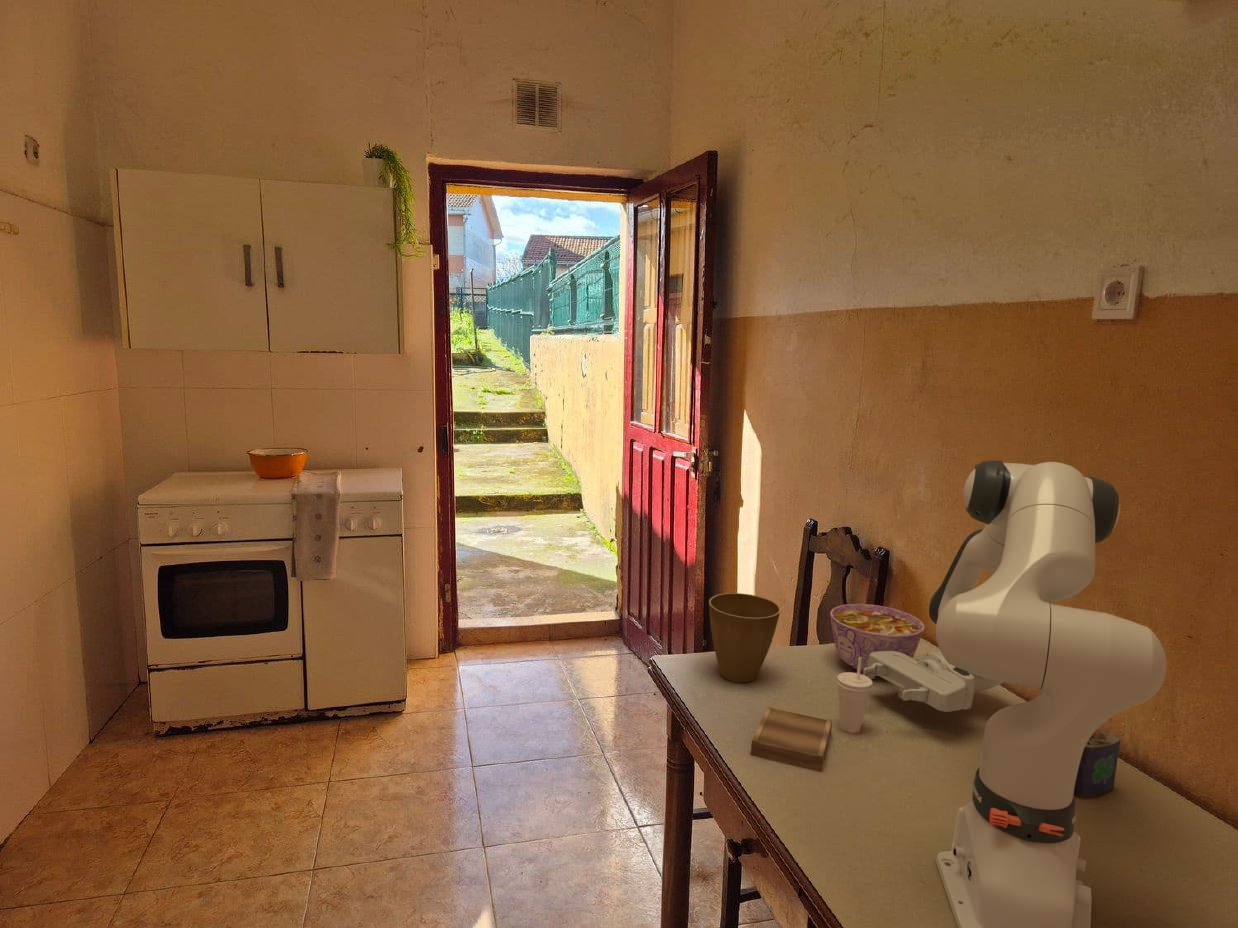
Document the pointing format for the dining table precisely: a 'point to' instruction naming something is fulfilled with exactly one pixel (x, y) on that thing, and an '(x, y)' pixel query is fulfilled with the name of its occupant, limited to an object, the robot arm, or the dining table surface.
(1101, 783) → the flask
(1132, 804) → the dining table surface
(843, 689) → the smoothie
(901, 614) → the bowl of food
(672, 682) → the dining table surface
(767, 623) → the plant pot
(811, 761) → the board
